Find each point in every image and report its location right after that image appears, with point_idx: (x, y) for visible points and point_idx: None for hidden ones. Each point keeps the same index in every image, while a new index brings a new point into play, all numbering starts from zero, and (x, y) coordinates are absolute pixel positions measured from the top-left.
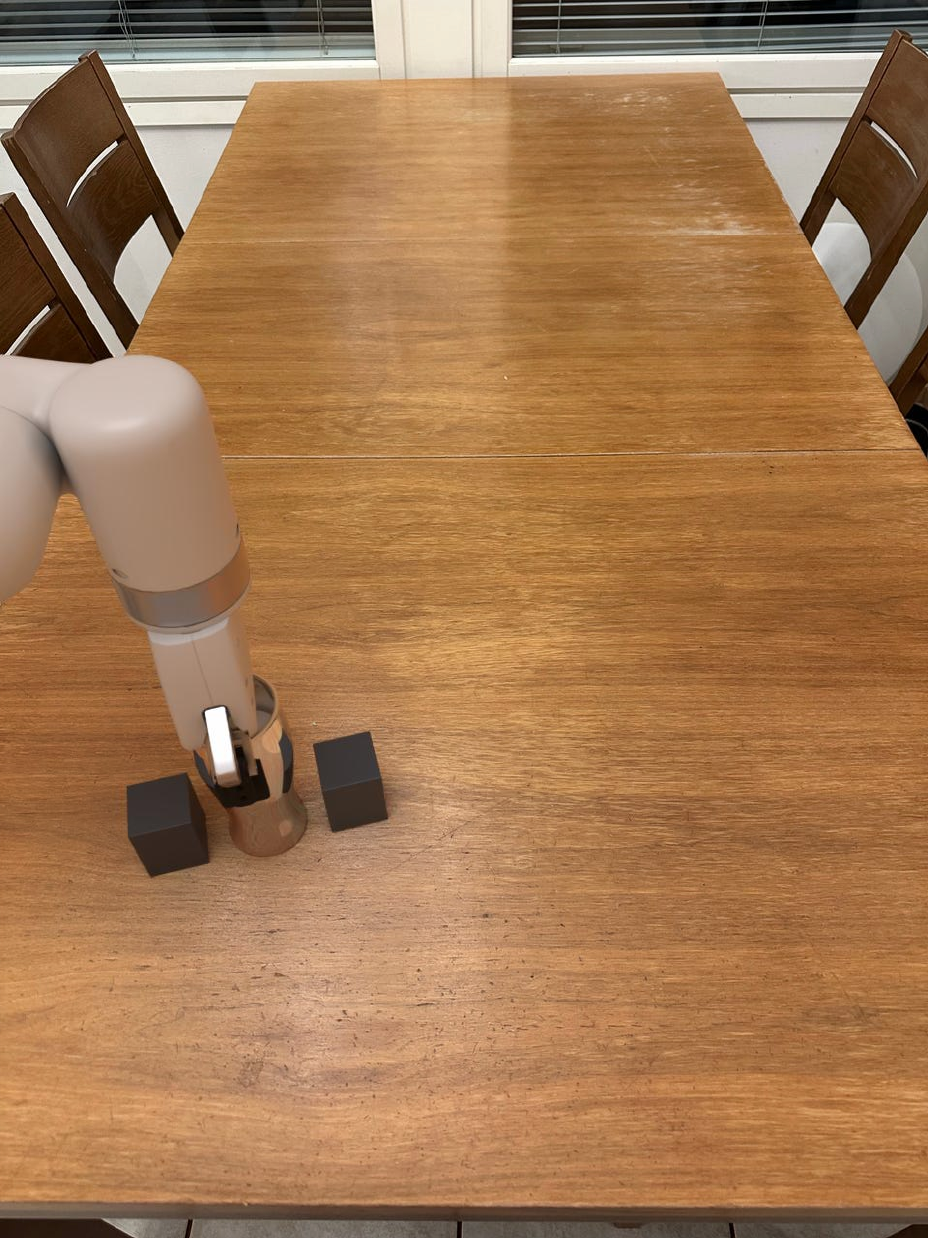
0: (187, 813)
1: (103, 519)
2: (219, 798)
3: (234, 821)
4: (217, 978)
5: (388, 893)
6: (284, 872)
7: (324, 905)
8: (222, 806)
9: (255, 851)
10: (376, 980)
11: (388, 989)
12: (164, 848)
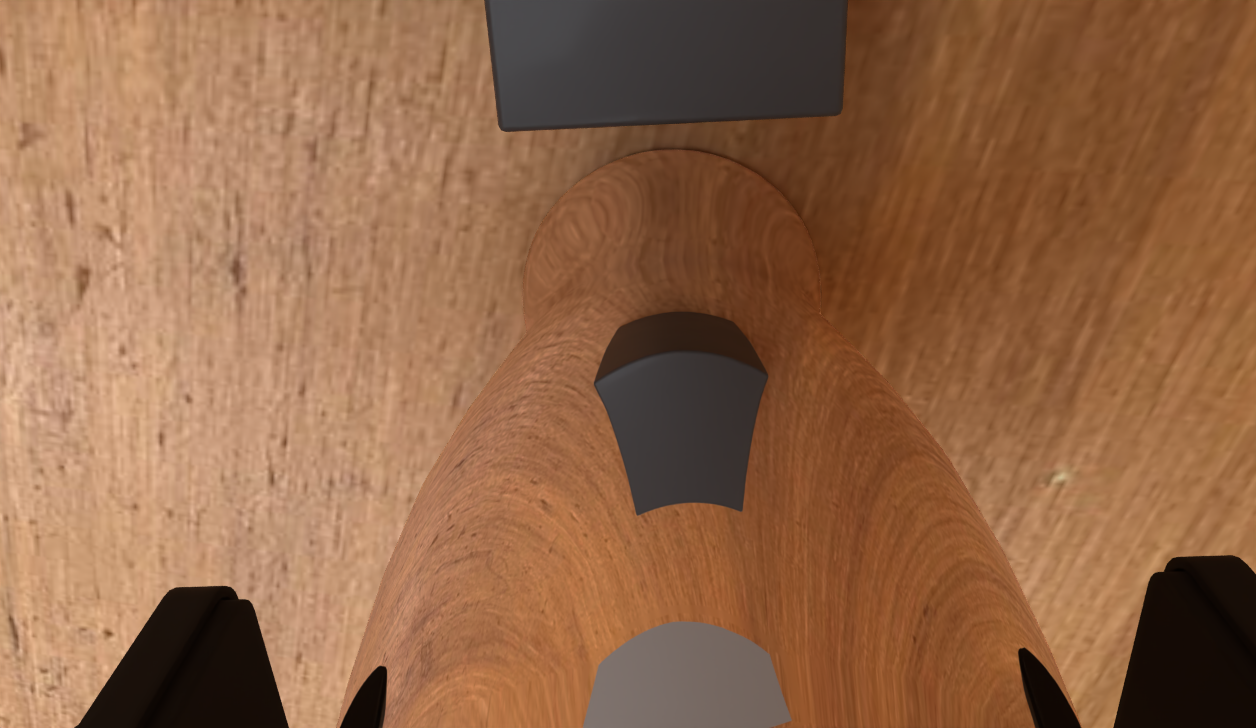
0: (562, 113)
1: None
2: (117, 670)
3: (578, 264)
4: (60, 70)
5: (344, 599)
6: (458, 326)
7: (320, 433)
8: (164, 597)
9: (530, 257)
10: (74, 537)
11: (49, 560)
12: None
